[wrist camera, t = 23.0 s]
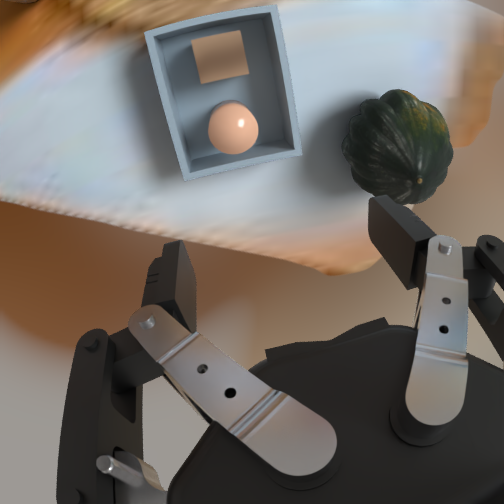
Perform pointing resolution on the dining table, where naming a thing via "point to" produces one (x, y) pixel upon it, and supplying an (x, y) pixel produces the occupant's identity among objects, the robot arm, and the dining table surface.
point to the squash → (398, 147)
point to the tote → (226, 89)
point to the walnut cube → (220, 56)
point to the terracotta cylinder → (232, 127)
